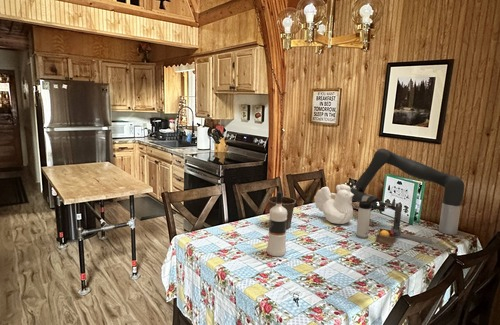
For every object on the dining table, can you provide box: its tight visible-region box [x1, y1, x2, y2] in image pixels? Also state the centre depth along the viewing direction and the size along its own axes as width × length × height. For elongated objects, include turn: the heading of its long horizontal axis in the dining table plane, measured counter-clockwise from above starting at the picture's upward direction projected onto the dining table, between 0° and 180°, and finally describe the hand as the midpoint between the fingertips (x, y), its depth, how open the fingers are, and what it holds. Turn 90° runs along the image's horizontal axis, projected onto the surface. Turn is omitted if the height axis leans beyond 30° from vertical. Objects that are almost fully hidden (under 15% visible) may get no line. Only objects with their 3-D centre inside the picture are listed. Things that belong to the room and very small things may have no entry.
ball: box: [380, 230, 389, 236], centre depth 173 cm, size 5×5×5 cm
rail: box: [394, 232, 433, 245], centre depth 176 cm, size 5×23×1 cm, turn 64°
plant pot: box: [267, 195, 297, 230], centre depth 187 cm, size 16×16×16 cm
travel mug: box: [355, 201, 372, 239], centre depth 175 cm, size 6×7×20 cm
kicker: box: [390, 202, 403, 237], centre depth 174 cm, size 14×5×18 cm, turn 154°
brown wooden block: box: [375, 227, 395, 246], centre depth 173 cm, size 12×8×4 cm
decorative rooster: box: [314, 183, 354, 225], centre depth 199 cm, size 25×16×25 cm, turn 39°
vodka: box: [266, 191, 287, 257], centre depth 150 cm, size 9×9×30 cm
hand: (390, 209), depth 183 cm, fingers open, 8 cm apart
